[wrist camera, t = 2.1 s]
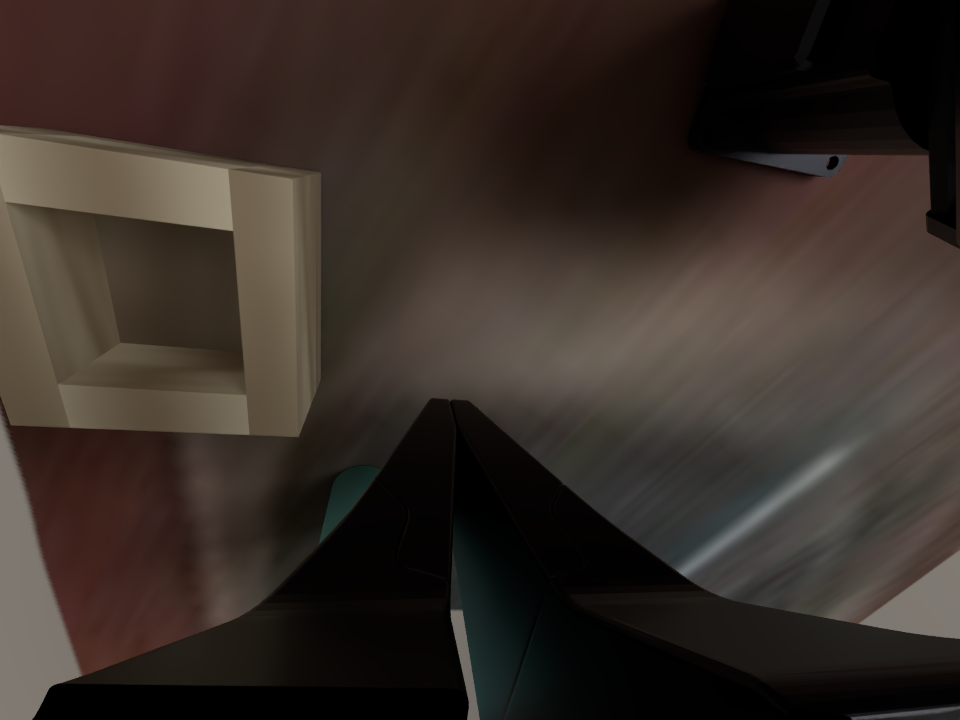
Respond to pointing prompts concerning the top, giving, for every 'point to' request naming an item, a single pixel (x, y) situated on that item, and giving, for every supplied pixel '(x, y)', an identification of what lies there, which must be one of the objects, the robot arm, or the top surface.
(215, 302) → the sliding block
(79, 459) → the top surface
